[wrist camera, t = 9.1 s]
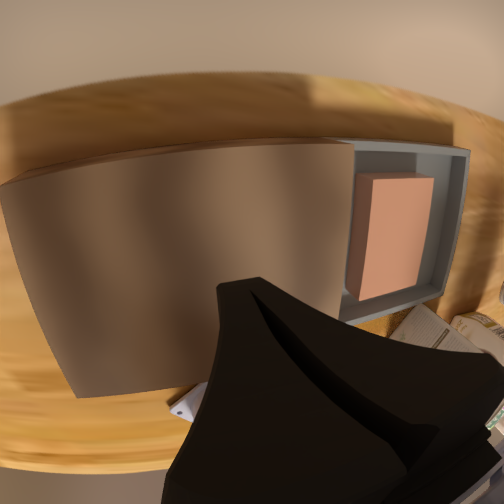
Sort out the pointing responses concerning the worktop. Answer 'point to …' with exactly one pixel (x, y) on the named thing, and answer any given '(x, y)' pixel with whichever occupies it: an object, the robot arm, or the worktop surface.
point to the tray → (439, 224)
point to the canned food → (502, 294)
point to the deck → (173, 249)
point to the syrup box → (437, 340)
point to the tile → (387, 232)
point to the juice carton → (483, 338)
